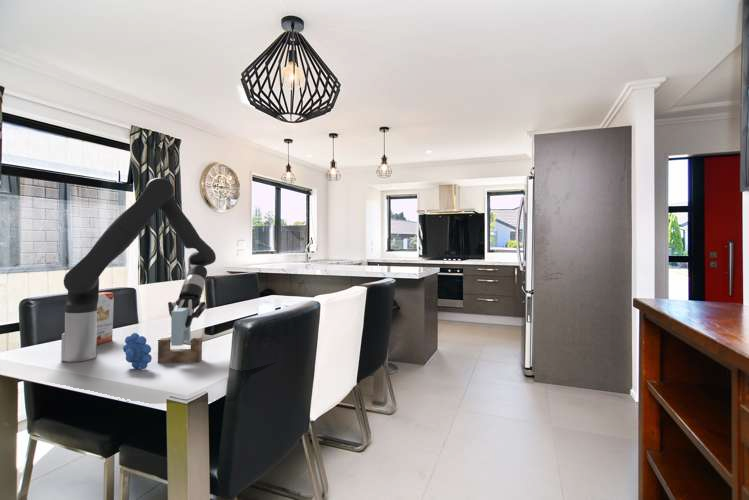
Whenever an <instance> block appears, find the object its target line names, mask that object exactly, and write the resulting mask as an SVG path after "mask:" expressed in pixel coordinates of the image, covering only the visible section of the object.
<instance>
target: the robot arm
mask: <svg viewBox="0 0 749 500" xmlns="http://www.w3.org/2000/svg"><path fill="white" fill-rule="evenodd" d="M173 185H174V184H173V183H172V182H171V181H170V180H168V179H166V178H164V177H155V178H152V179H150V180H149V181H148V182H147V183H146V185H145V189H144V190H143V192H142V193H141V194H140V195H139V197H138V199H136V201H135V202H134V203H133V204H132V205H131V206H130V207H128V208H127V209H126V210H125V211H123V212H122V213H121V214H120V215H119V216H118V217H116V219H115V220H114V221H113V222H112V223H111V224H110V225H109V226H108V227H107V229H105V230H104V232H103V233H102V234H101V236H100V237H99V238H98V240H97V241H96V242H95V244H94V245H93V246H92V247H91V249H90V251H89V252H88V253H87V254H86V255H85V256H84V257H83V258H82V259H81V260H80V261H79V262H77V263H76V264H75V265H74V266H73V267H72V268H71V269H70V270H69V271H67V272H66V273H65V275H64V277H63V285H64V288H65V289H66V290H67V297H66V298H67V299H66V303H65V306H64V332H63V333H61V350H60V351H61V353H60V361H61V362H68V363H77V362H78V363H79V362H84V361H89V360H93V359H95V358H96V357H97V344H96V342H97V304H98V298H99V293H100V292H99V291H100V290H99V289H100V277H101V275H102V273H104V271H105V269H106V268H107V267H108V265H110V264H111V263H112V262H113V261H115V259H116V258H118V257H119V256H120V255H121V254H122V253H124V252H125V251H126V249H128V248H129V247H130V246H131V245H132V243H133V242H134V241H135V240H136V239H137V237H138V236H139V235H140V234H141V232H142V231H143V230H144V229H145V227H146V225H147V224H148V223H149V221H150V220H151V219H152V217H153V216H154V215H155V213H156V212H157V211H158V210H161V212H162V213H163V214H164V216H165V218H166V219H167V221H168V222H169V224H170V225H171V227H172V229H173V231H174V232H175V235H176V236H177V238H178V239H179V241H180V242H181V243H182V245H183V247H185V249H188V250H189V249H194V250H196V251H194V252H192V253H191V254H190V255H189V256H188V260H187V263H188V264H187V267H188V272H187V274H186V277H185V279H184V281H183V283H182V287H181V289H180V293H179V295H178V298H177V299H176V301H175V302H171V301H168V303H167V305H168V306H167V307H168V312H169V313H168V314H169V316H170V317H171V311H174V310H176V309H178V308H189V316H187V320H186V323H185V326H186V328H188V327H189V326H190V327H191V325H192V322H193V319H195V318H196V319H199V317H200V316H201V315H202V313H203V312H204V311H205V309H206V308H207V307H208V306H207V304H206V302H205V301H201V298H202V295H203V292H204V289H205V282H206V279H207V276H208V270H207V268H206V266H210V265H212V264H214V263H215V262H216V260H217V259H216V253H215V250H214V249H212V247H211V246H210V245H209V244H208V243H206V241H204V239H202V238H201V237H200V235H199V233H198V232H197V230H196V228H195V227H194V225H193V224H192V223H191V221H190V219H189V218H188V217H187V216H186V215H185V214H184V212H183V210H182V209H181V207H180V206H179V205H178V202H177V200H176V198H175V196H174V193H175V189H174V186H173ZM176 306H177V308H176Z"/></svg>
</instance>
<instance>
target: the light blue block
mask: <svg viewBox="0 0 749 500" xmlns="http://www.w3.org/2000/svg"><path fill="white" fill-rule="evenodd" d="M177 308H178V307H177ZM177 308H175V309H174V311H171V316H170V319H171V320H170V323H171V326H170V327H171V331H170V332H171V333H170V334H171V336H170V337H171V338H170V347H171V346H172V347H174V346H176V347H177V346H183V345H184V343H185V341H187V342H189V341H191V325H190V326H189V327H188V328H186V326H185V323H186V320H187V316H189V308H178V309H177Z"/></svg>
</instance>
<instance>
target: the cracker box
mask: <svg viewBox="0 0 749 500" xmlns="http://www.w3.org/2000/svg"><path fill="white" fill-rule="evenodd" d="M114 299H115V292H108V291H107V292H106V291H105V292H104V291H103V292H99V298H98V304H97V342H96V345H98V344H99V345H100V344H103V343H107V342H111V341H113V329H114V303H115V300H114Z"/></svg>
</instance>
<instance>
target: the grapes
mask: <svg viewBox="0 0 749 500" xmlns="http://www.w3.org/2000/svg"><path fill="white" fill-rule="evenodd" d="M122 350H123V352H124V353H125V354H124V355H125V361H126V362H127V363H129V364H130V363H131V368H133V369H135V370H138V369H140V370H146V369H147V368H148V364H149V363H151V362H152V360H153V357H152V355H151V354H150V353H151V352H152V347H151V345H149V344H148V343H147V338H146V337H145V336H143V335H140V334H138V333H137V332H133V333H131V334H130V335H129V336H128V335H127V336H126V337H125V338H124V346H122Z"/></svg>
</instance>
